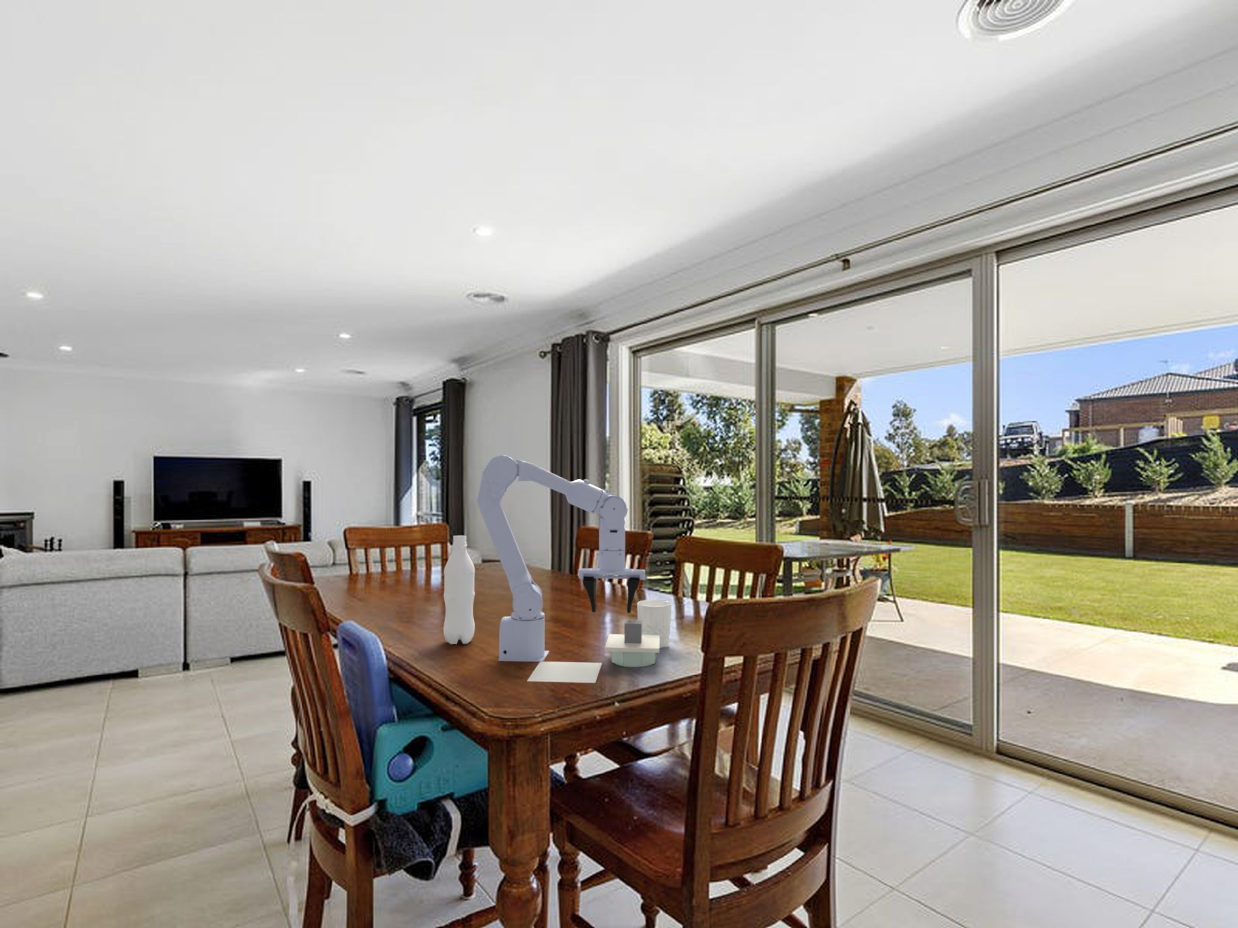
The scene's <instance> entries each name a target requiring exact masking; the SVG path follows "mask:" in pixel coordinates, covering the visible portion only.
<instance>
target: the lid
mask: <svg viewBox="0 0 1238 928" xmlns="http://www.w3.org/2000/svg"><path fill="white" fill-rule="evenodd" d="M623 630H624V634H619V633H615V634H614V633H611V634H610V633H609V634H608V637H607V640H606V643H605V645H604V652H611V653H612V652H655V654H656V653H657V654H658V653H660V648H659V646H660V635H642V620H638V619H625V620H624V629H623Z"/></svg>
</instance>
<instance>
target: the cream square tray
mask: <svg viewBox="0 0 1238 928" xmlns="http://www.w3.org/2000/svg"><path fill="white" fill-rule="evenodd" d="M602 665H603V662H578V661H577V662H575V661H542V662H541V661H540V662H538V664H537V666H536V667H535V669H534V670H533V671H532V673H531V674H530V676H529V677H528V678H527V680H526V682H539V683H575V684H577V683H581V684H583V683H584V684H596V682H597V678H598V676H599V673H600V671H601V667H602Z"/></svg>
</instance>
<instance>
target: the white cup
mask: <svg viewBox="0 0 1238 928" xmlns="http://www.w3.org/2000/svg"><path fill="white" fill-rule="evenodd" d="M636 606H637V607H636V608H637V620H642V635H660V646H659V649H661V648H669V647H670V635H671V621H672V618H671V617H672V616H671V615H672V602H671V601H668V600H662V599H644V600H640V601H638V602H637V603H636Z"/></svg>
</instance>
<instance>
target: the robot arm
mask: <svg viewBox="0 0 1238 928" xmlns="http://www.w3.org/2000/svg"><path fill="white" fill-rule="evenodd" d="M517 477H518V479H517ZM516 479H517V481H518V482H534V483H536V484H539V485H541V486H544V487H547V488H549V489H550V490H554V491H555V492H558V493H560V494H563V495H564V496H565V497H566V500H567V502H568V504H570V505H571V506H574V507H577V508H579V509H582V510H584V511H586V512H589V513H590V514H592V515H596V514H598V516H600V519H599V521H600V523H599V525H600V526H599V530H598V532H599V533H598V535H599V537H598V551H599V553H598V567H593V568H590V567H588V568H579V569H578V579H583V581H582V584H583V586H584V588H585V590H586V593H587V596H588V598H589V602H590V607H591V613H596V612H597V581H598V579H611V580H613V579H619V580H621V579H622V580H627V606H626V613H627V614H631V613H632V605H633V602H634V597H635V594H636V591H637V589H638V586H639V585H640V583H641V581H645V579H646V570H645V569H637V568H634V569H633V568H626V527H625V525H626V521H625V518H626V517H627V514H628V510H629V509H628V508H627V504H626V502H625V501H624V499H623V498H622V497H621V496H618V495H616V494H614V493H610V491H611V490H609V489H607V488H605V489H602V488H600V487H598V486H596V485H593V484H591V480H589V479H586V478H585V479H583V480H582V479H575V480H573V481H569V480H568V479H565V478H564V477H561V476H559V475H557V474H555V473H552V472H551V471H549V470H547V469H544V468H543V467H540V466H538V465H536V464H535V463H532V462H528V461H526V460H525V461H524V460H521V459H517V458H515V460H514V458H512V457H510V456H508V455H504V454H500V455H496V456H494V457H492V458H491V459H490V460H489V462H488V463H487V465H486V466H485V468H484V469H483V471H482V474H481V481H480V485H479V490H478V494H477V499H476V503H477V505H478V509H479V511H480V513H481V515H482V519H483V520H484V523H485V526H486V529H487V531H488V533H489V537H490V538H491V541H492V544H493V545H494V546H493V547H494V548H495V551H496V553H497V556H498V558H499V560H500V563H501V565H502V569H503V571H504V573H505V575H506V577H507V581H508V585H509V589H510V592H511V595H512V610H513V612H511V614H510V616H507V615H506V616H503V617H502V618H501V620H500V623H499V630H498V631H499V634H498V636H499V643H498V644H499V648H498V652H499V653H498V655H499V656H498V661H499V662H500V661H501V662H536V663H537V662H538V663H540V661H541V662H544V661H545V659H546V657H547V656H548V655H549V653H550V651H549V650H545V642H546V641H545V639H546V638H545V637H546V636H545V635H546V634H545V631H546V630H545V629H546V628H545V626H546V624H545V623H546V622H545V620H546V619H545V618H546V616H545V615H546V614H545V613H544V612H543V611H542V610H543V606H544V600H543V591H542V589H541V587H540V586H539V585H538V584H537V583H536V582H535V581H534V580H533V577H532V575H531V572H530V571H529V570H528V567H527V565H526V562H525V560H524V557H523V555H522V553H521V550H520V547H519V545H518V543H517V542H518V541H517V540H516V537H515V534H514V532H513V530H512V527H511V525H510V521H509V520H508V518H507V515H506V513H505V511H504V508H503V505H502V500H503V498H504V496H505V493H506V492H507V490H508V488H509V486H511V485H512V484H513V483H514V481H515V480H516Z"/></svg>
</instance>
